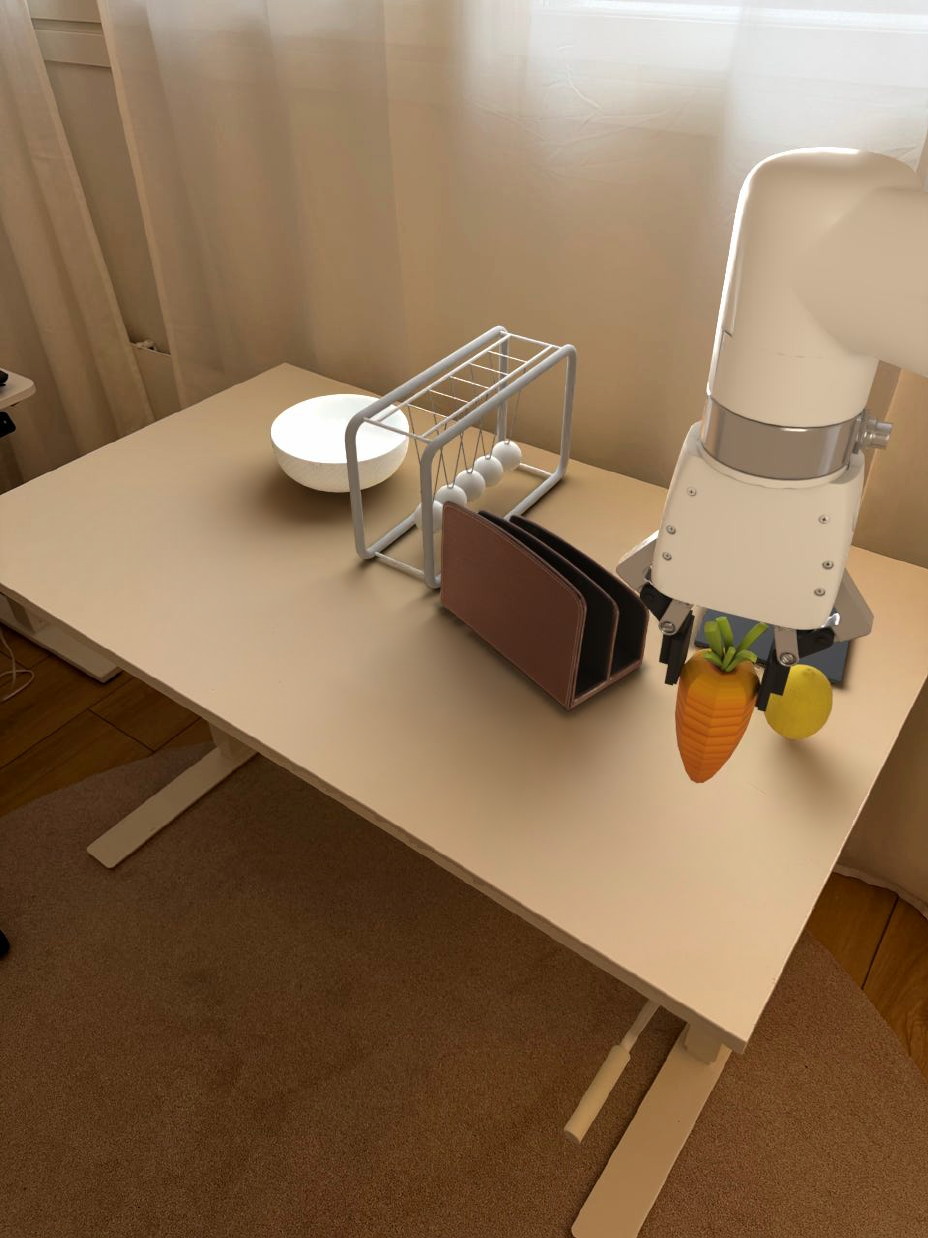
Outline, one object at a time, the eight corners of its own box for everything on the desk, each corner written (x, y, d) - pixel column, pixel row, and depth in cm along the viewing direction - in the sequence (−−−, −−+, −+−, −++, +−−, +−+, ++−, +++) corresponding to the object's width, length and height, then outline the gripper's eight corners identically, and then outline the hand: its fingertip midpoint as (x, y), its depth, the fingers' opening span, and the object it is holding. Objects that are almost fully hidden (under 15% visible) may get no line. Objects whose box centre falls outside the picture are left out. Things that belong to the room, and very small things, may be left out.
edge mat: (854, 611, 93) (855, 607, 93) (839, 685, 85) (841, 681, 85) (720, 576, 98) (721, 573, 97) (694, 644, 89) (694, 640, 89)
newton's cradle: (499, 450, 118) (503, 319, 106) (569, 473, 114) (580, 339, 102) (355, 564, 99) (340, 420, 88) (431, 598, 95) (426, 451, 83)
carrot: (736, 763, 64) (779, 602, 55) (728, 817, 61) (773, 655, 51) (667, 747, 66) (697, 587, 56) (655, 799, 62) (685, 637, 52)
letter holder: (568, 713, 82) (581, 595, 73) (439, 605, 94) (435, 491, 85) (643, 666, 87) (664, 550, 78) (511, 568, 99) (515, 457, 89)
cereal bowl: (249, 486, 111) (240, 436, 107) (332, 430, 122) (327, 382, 118) (358, 527, 105) (353, 475, 100) (436, 464, 115) (435, 414, 111)
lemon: (826, 726, 81) (850, 662, 76) (808, 766, 77) (833, 702, 72) (766, 702, 83) (786, 639, 78) (746, 740, 80) (766, 676, 74)
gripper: (963, 423, 45) (866, 682, 57) (635, 369, 51) (608, 615, 62) (958, 498, 40) (852, 766, 52) (593, 428, 45) (572, 684, 57)
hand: (719, 681), depth 57 cm, fingers closed on carrot, 5 cm apart
